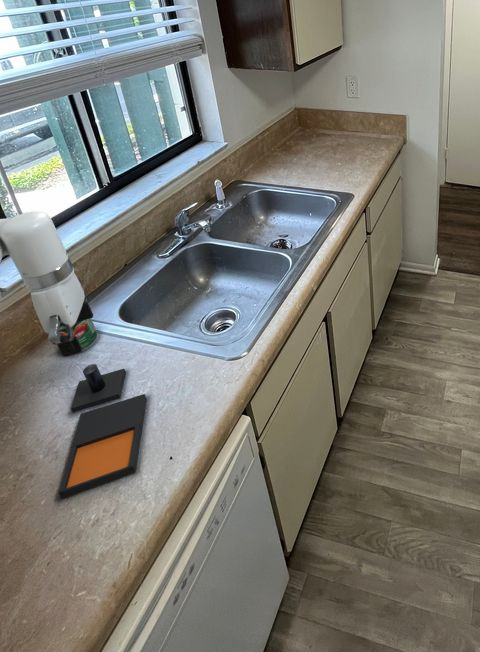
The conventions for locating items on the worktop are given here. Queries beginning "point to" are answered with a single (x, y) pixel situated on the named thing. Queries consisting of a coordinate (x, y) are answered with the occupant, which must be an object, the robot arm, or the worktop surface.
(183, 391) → the worktop surface
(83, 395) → the black pad
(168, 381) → the worktop surface
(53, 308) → the robot arm
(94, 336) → the canned tomato
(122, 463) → the base pad
